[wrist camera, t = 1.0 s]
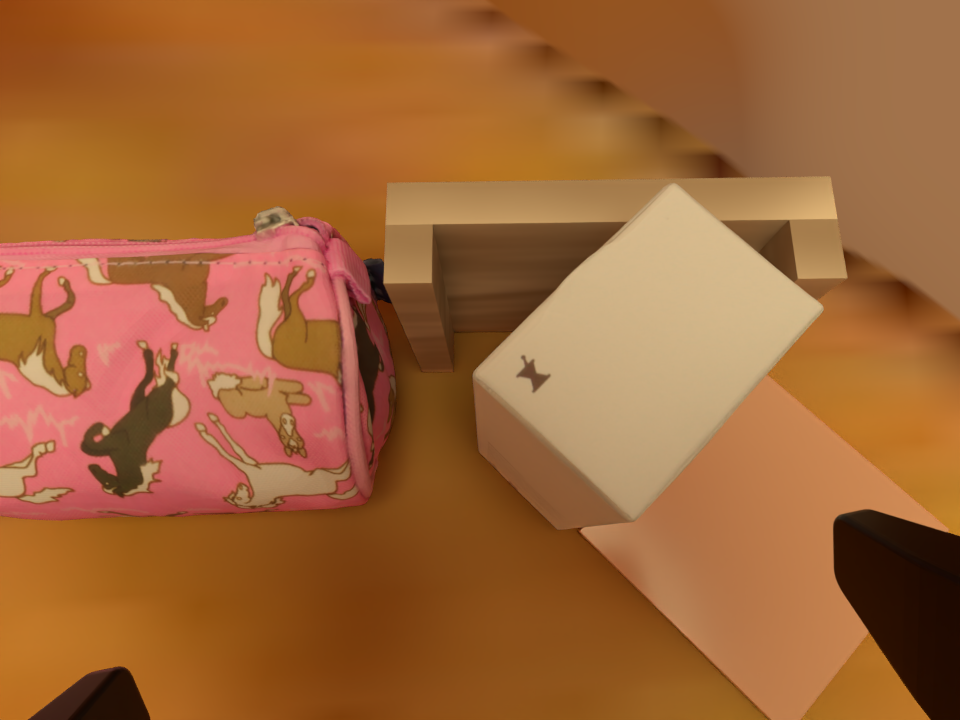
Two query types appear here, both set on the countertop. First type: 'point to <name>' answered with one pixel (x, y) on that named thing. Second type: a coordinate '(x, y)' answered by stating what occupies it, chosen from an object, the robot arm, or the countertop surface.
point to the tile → (759, 549)
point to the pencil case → (192, 374)
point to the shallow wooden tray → (569, 243)
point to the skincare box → (634, 364)
